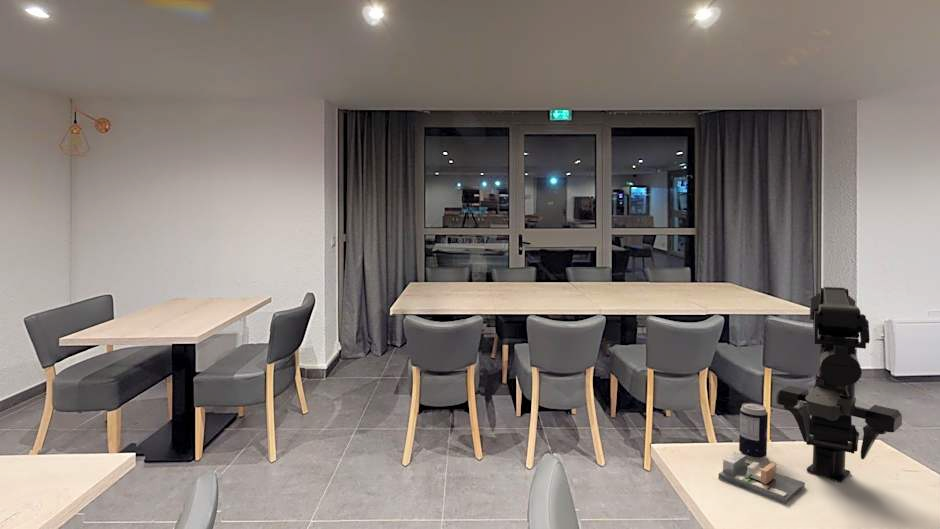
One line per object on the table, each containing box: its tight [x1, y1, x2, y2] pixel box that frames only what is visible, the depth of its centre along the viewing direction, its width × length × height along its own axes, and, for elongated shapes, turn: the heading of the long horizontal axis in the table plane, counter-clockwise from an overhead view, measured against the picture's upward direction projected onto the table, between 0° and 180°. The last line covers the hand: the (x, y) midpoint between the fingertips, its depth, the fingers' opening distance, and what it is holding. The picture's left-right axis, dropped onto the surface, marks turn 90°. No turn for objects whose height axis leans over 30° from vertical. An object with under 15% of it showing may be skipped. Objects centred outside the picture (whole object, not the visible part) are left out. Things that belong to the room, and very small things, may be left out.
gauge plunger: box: [746, 461, 777, 484], centre depth 103 cm, size 7×4×3 cm, turn 128°
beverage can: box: [738, 402, 769, 460], centre depth 115 cm, size 6×6×12 cm
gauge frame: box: [718, 451, 806, 505], centre depth 103 cm, size 10×13×4 cm
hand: (833, 449), depth 94 cm, fingers open, 9 cm apart
